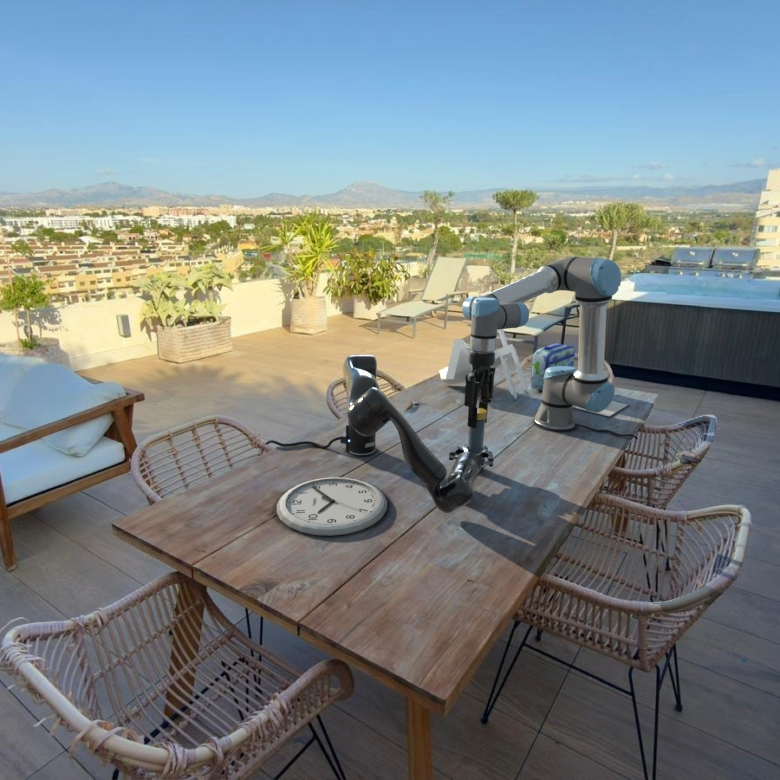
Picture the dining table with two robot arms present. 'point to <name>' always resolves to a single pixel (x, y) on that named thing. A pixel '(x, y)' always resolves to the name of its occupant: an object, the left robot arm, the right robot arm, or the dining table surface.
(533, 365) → the lunch box
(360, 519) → the wall clock
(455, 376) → the white plastic object
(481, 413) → the lid
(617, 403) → the invitation card
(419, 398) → the fork
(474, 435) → the bottle
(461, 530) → the dining table surface
